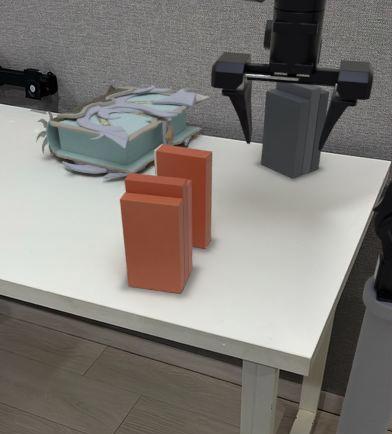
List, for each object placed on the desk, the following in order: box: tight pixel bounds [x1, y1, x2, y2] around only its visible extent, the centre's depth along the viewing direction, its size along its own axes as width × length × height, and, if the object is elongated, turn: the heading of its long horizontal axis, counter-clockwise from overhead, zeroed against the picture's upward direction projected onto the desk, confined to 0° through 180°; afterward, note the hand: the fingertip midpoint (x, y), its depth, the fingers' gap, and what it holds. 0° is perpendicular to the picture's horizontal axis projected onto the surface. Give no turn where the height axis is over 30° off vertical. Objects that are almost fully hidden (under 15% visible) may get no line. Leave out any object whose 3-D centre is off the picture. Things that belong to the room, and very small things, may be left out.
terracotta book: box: [153, 144, 213, 250], centre depth 76 cm, size 7×2×13 cm, turn 69°
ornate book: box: [35, 84, 209, 179], centre depth 103 cm, size 23×10×30 cm
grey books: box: [260, 82, 330, 179], centre depth 95 cm, size 8×6×14 cm
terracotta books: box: [119, 173, 193, 295], centre depth 69 cm, size 7×6×14 cm
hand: (283, 146), depth 73 cm, fingers open, 9 cm apart
